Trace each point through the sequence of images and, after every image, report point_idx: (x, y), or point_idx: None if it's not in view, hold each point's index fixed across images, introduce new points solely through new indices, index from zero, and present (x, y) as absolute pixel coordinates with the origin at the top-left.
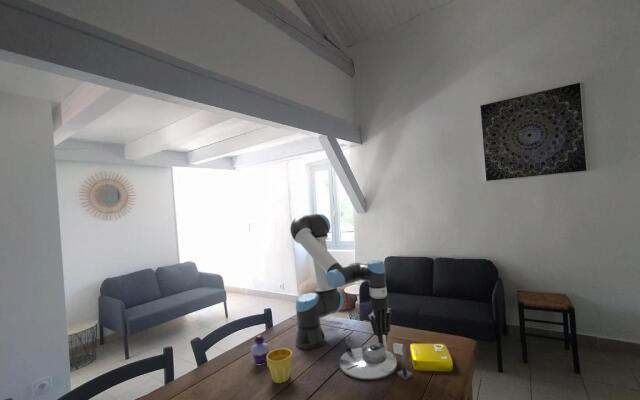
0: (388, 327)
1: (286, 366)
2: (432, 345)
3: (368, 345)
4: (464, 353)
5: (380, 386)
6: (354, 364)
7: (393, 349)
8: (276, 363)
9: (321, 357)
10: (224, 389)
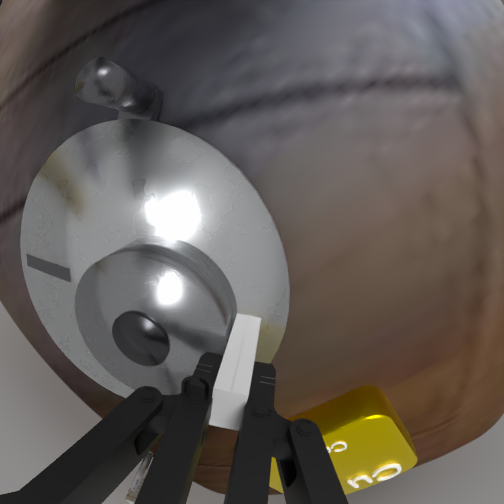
0: (285, 483)
1: None
2: (392, 459)
3: (138, 287)
4: (419, 460)
5: (88, 383)
6: (59, 260)
7: (135, 477)
8: None
9: (50, 63)
10: None
